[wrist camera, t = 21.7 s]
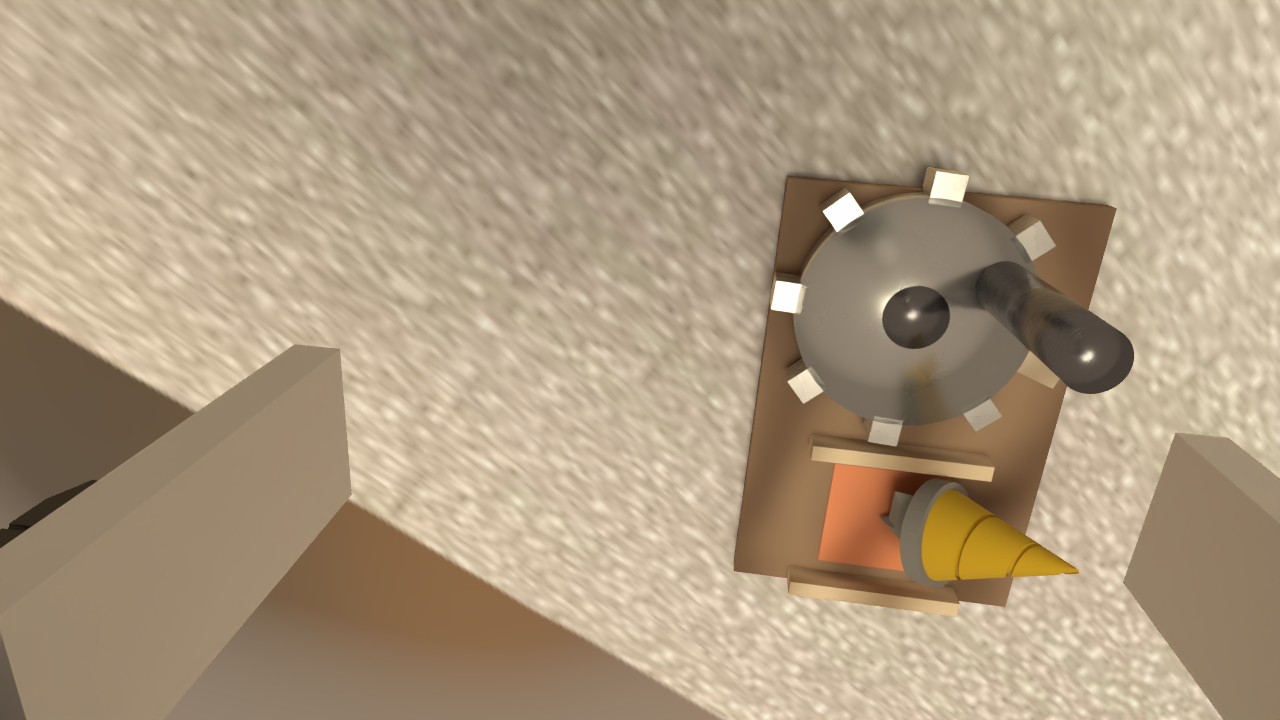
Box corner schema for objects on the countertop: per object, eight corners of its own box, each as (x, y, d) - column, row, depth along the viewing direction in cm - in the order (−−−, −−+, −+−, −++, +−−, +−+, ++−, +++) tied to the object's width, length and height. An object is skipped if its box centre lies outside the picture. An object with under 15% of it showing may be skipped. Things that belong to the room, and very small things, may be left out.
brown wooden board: (733, 561, 47) (733, 586, 44) (786, 175, 39) (790, 181, 37) (999, 595, 45) (1013, 624, 43) (1107, 205, 38) (1131, 213, 35)
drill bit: (891, 446, 43) (1092, 487, 36) (914, 518, 45) (1107, 570, 38) (839, 514, 40) (1045, 573, 33) (866, 586, 43) (1064, 657, 35)
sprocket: (1006, 450, 41) (1106, 589, 30) (748, 407, 42) (753, 528, 31) (1090, 190, 36) (1245, 240, 25) (798, 148, 37) (825, 179, 26)
